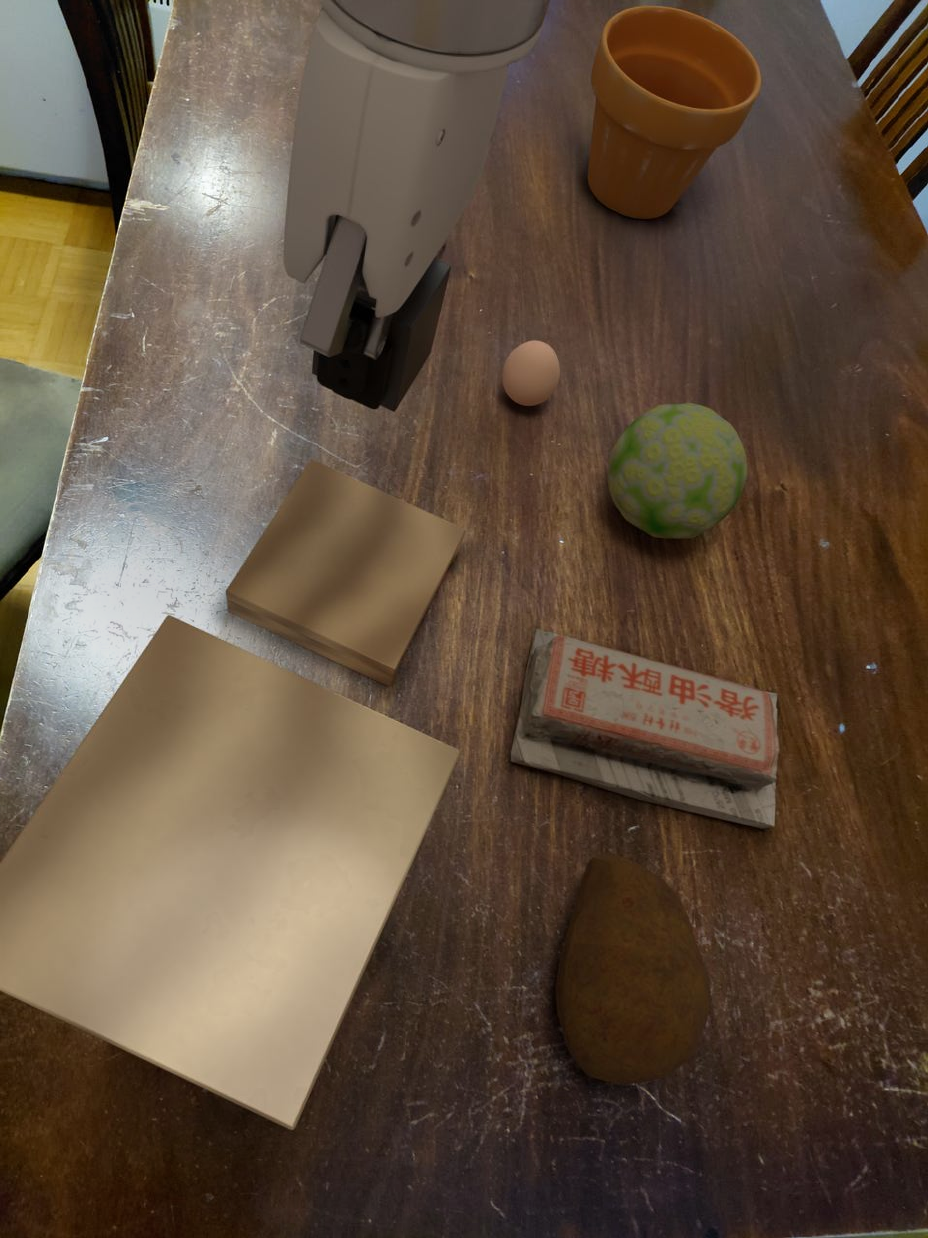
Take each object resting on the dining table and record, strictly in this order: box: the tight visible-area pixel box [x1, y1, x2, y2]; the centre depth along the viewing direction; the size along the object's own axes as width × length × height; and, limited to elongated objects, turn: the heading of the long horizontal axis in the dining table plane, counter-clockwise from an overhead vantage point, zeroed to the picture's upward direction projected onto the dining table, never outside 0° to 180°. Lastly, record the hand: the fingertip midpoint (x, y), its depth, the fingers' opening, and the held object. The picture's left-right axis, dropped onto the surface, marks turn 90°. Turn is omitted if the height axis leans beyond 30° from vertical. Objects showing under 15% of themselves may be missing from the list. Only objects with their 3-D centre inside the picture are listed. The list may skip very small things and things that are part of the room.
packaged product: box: [510, 628, 781, 829], centre depth 61 cm, size 18×5×10 cm
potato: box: [555, 851, 712, 1087], centre depth 51 cm, size 8×12×9 cm
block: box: [311, 258, 452, 413], centre depth 42 cm, size 4×4×6 cm
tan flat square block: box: [225, 458, 467, 688], centre depth 63 cm, size 12×12×3 cm
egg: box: [501, 339, 561, 407], centre depth 72 cm, size 4×4×6 cm
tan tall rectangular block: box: [0, 614, 461, 1131], centre depth 39 cm, size 10×11×30 cm
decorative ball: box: [607, 402, 748, 540], centre depth 67 cm, size 10×10×10 cm
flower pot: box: [587, 5, 762, 220], centre depth 83 cm, size 14×14×13 cm
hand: (373, 354), depth 44 cm, fingers closed on block, 4 cm apart
